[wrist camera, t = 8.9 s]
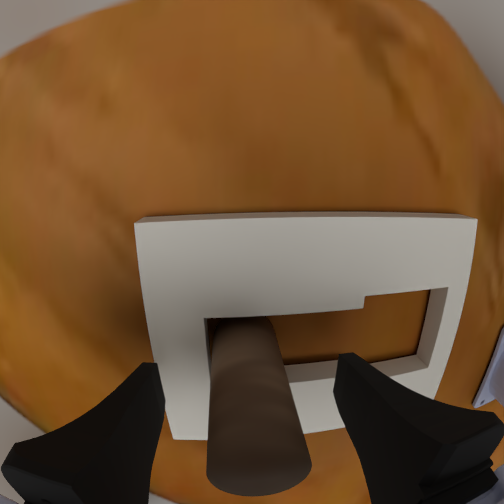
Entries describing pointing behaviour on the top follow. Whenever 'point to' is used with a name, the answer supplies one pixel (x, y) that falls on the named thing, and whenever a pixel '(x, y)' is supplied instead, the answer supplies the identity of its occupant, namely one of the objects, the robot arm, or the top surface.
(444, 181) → the top surface
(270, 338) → the peg
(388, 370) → the keyhole plate
